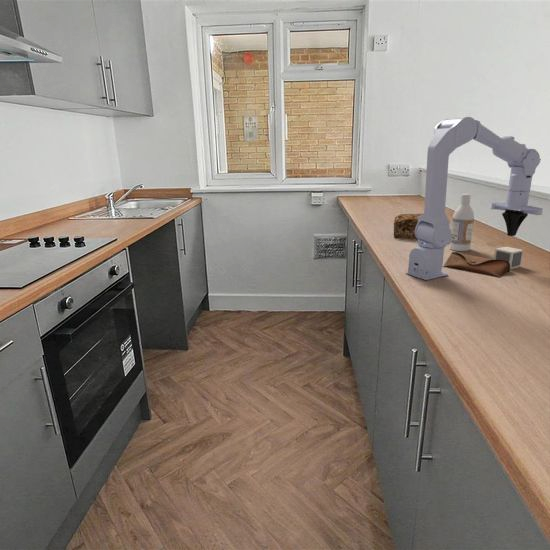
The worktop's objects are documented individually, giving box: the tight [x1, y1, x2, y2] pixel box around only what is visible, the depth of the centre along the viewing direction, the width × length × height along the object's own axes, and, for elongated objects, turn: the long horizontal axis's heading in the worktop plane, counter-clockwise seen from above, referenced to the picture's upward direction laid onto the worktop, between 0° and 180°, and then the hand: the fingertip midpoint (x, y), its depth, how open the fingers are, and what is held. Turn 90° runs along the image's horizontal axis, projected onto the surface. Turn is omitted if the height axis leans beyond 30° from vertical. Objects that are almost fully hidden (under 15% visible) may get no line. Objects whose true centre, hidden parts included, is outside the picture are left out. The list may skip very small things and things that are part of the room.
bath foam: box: [448, 193, 475, 252], centre depth 147 cm, size 7×7×20 cm
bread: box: [393, 213, 423, 240], centre depth 169 cm, size 19×11×10 cm, turn 67°
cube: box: [493, 246, 524, 270], centre depth 128 cm, size 6×6×6 cm
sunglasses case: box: [442, 251, 511, 278], centre depth 127 cm, size 18×7×7 cm
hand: (511, 235), depth 126 cm, fingers closed
